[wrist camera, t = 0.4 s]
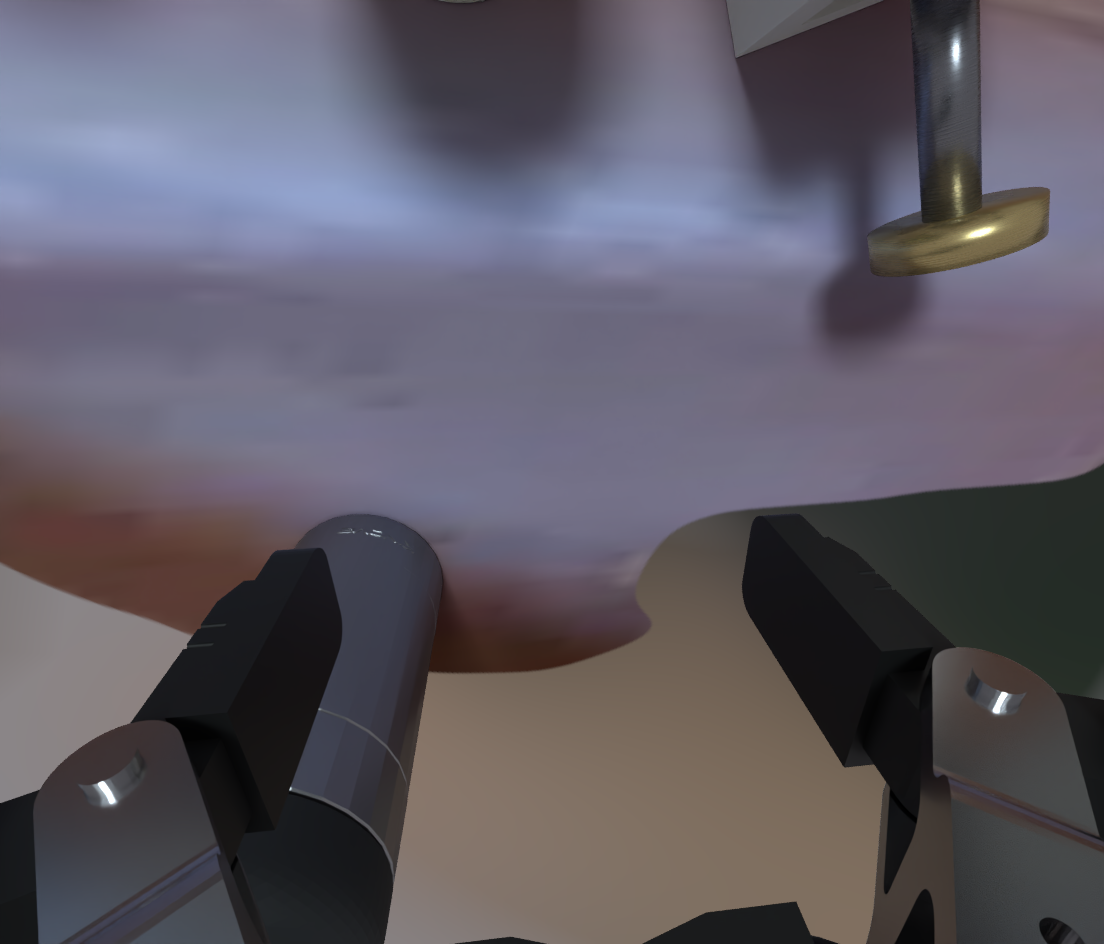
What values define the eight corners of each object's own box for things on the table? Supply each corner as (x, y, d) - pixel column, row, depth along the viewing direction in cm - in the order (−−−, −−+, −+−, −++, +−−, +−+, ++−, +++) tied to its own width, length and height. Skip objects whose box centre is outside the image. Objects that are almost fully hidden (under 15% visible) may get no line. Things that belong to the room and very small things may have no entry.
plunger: (965, 228, 25) (1094, 223, 20) (842, 272, 26) (935, 280, 20) (958, -80, 21) (1122, -195, 15) (808, -21, 21) (918, -114, 16)
